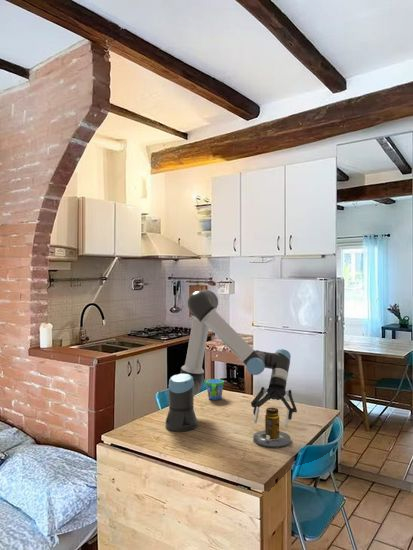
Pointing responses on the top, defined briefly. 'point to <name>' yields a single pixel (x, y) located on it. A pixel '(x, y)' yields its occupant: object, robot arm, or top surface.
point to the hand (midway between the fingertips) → (270, 424)
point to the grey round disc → (274, 443)
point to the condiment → (271, 424)
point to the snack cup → (214, 388)
